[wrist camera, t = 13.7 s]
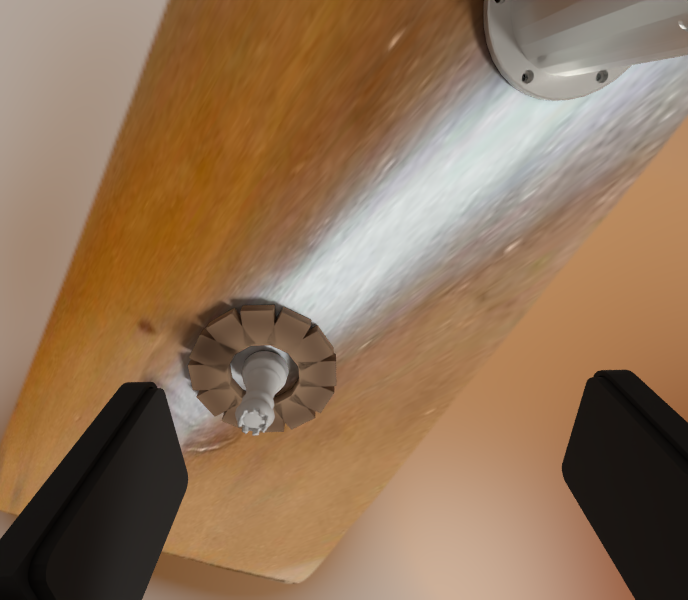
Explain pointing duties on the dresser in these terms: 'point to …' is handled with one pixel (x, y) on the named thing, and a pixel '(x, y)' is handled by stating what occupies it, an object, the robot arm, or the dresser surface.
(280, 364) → the rook chess piece
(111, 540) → the robot arm
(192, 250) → the dresser surface
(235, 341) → the walnut ring
